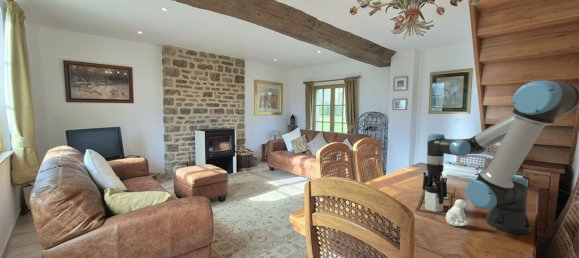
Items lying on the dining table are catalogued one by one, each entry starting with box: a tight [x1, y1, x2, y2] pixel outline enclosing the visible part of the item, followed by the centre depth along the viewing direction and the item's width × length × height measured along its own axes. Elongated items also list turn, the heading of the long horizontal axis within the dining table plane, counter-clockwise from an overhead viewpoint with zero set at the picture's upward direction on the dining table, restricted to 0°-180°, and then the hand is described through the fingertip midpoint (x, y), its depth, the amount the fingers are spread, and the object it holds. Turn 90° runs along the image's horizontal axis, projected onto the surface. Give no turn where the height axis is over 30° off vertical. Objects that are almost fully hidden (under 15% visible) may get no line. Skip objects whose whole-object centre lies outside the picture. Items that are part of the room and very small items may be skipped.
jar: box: [424, 184, 444, 213], centre depth 132 cm, size 9×8×12 cm
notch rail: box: [415, 186, 456, 217], centre depth 143 cm, size 43×17×6 cm, turn 147°
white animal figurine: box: [445, 199, 471, 227], centre depth 112 cm, size 6×8×12 cm
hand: (433, 206), depth 132 cm, fingers open, 7 cm apart
